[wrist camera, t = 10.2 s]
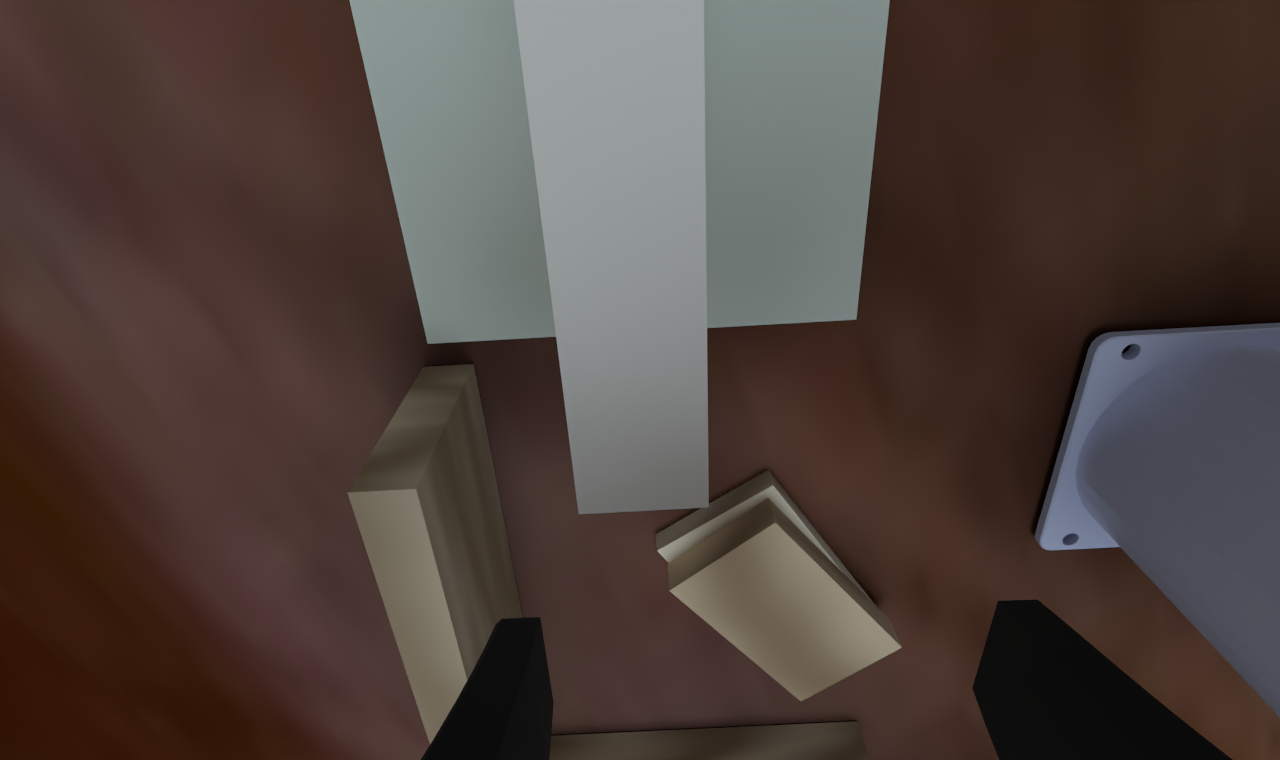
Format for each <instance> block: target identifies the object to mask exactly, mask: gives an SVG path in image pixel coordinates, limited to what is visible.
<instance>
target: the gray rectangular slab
mask: <svg viewBox="0 0 1280 760" xmlns="http://www.w3.org/2000/svg"><path fill="white" fill-rule="evenodd" d="M514 8H515V16H516V24H517V32H518V40H519V48H520V56H521V64H522V71H523V79H524V87H525V95H526V103H527V111H528V119H529V127H530V135H531V142H532V150H533V158H534V166H535V174H536V182H537V190H538V198H539V206H540V213H541V221H542V229H543V237H544V245H545V253H546V261H547V269H548V277H549V284H550V292H551V300H552V308H553V316H554V324H555V332H556V340H557V348H558V355H559V363H560V371H561V379H562V387H563V395H564V403H565V411H566V419H567V426H568V434H569V442H570V450H571V458H572V466H573V474H574V482H575V490H576V497H577V505H578V513H579V514H592V513H611V512H631V511H650V510H669V509H688V508H707V507H709V480H708V376H707V273H706V169H705V65H704V0H514Z"/></svg>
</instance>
